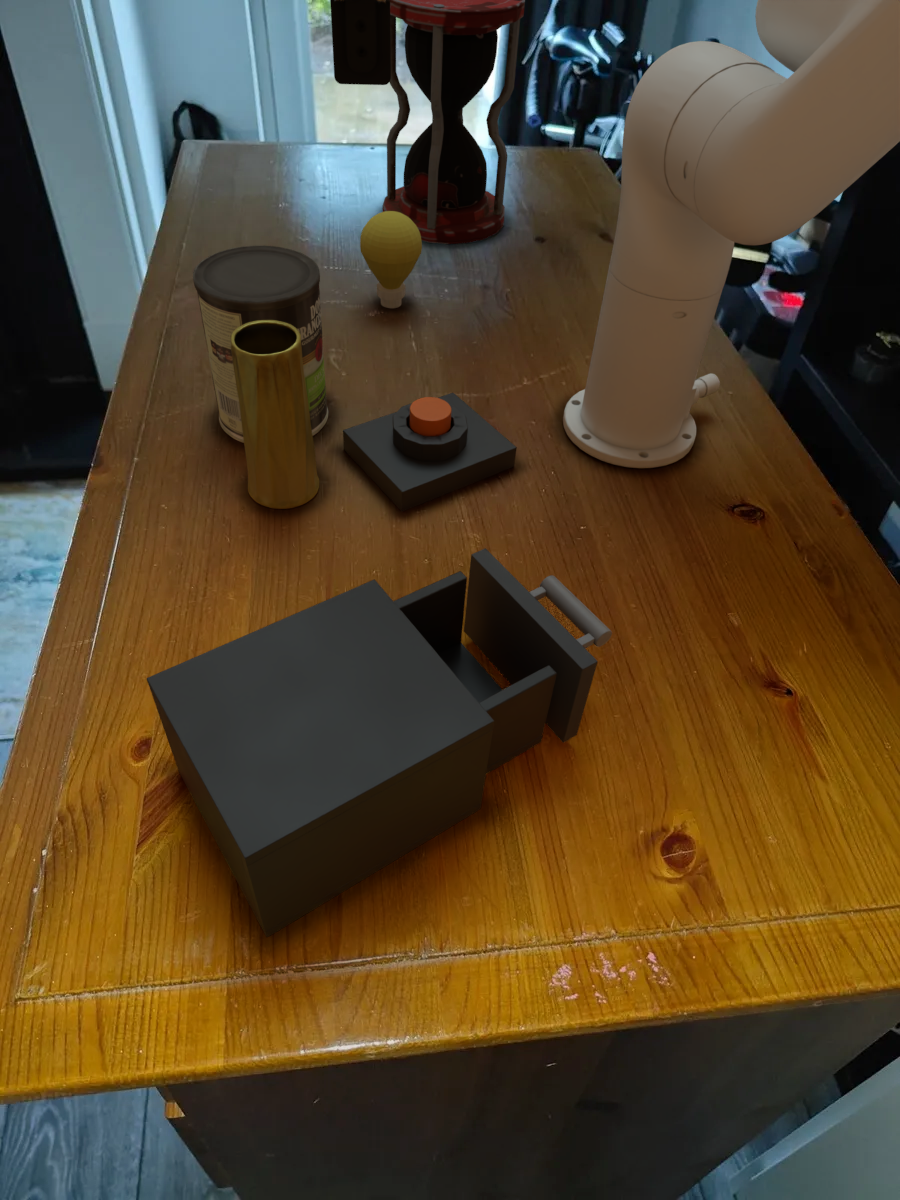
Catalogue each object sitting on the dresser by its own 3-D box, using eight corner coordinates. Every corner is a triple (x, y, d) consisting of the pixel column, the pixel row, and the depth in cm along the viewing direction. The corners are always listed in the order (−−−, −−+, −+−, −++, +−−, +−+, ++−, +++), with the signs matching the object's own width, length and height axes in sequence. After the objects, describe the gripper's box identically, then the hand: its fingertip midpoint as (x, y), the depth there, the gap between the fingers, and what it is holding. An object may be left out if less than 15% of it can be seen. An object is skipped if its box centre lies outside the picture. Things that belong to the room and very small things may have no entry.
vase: (261, 518, 70) (238, 366, 59) (238, 475, 73) (212, 325, 63) (330, 498, 72) (319, 348, 62) (304, 458, 76) (290, 310, 65)
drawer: (523, 602, 64) (536, 525, 58) (625, 706, 57) (650, 632, 52) (312, 705, 56) (304, 628, 51) (403, 837, 50) (405, 767, 44)
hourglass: (367, 235, 107) (362, -2, 89) (400, 187, 118) (401, -32, 100) (491, 253, 105) (512, 16, 87) (513, 203, 116) (536, -17, 98)
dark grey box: (376, 673, 59) (374, 578, 52) (480, 809, 53) (494, 720, 46) (178, 770, 53) (146, 677, 46) (267, 938, 47) (244, 858, 40)
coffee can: (342, 394, 83) (335, 253, 72) (309, 456, 76) (296, 310, 66) (242, 377, 84) (221, 236, 74) (200, 437, 77) (171, 291, 67)
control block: (452, 411, 82) (454, 375, 79) (514, 467, 76) (519, 430, 73) (343, 450, 77) (341, 412, 74) (402, 512, 71) (402, 474, 68)
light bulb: (351, 309, 94) (347, 218, 87) (377, 284, 98) (375, 195, 91) (406, 323, 93) (407, 232, 85) (429, 297, 97) (432, 208, 90)
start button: (435, 409, 76) (436, 392, 74) (458, 429, 74) (459, 412, 72) (401, 421, 74) (401, 404, 73) (424, 442, 72) (424, 425, 71)
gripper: (443, -369, 34) (432, 106, 46) (419, -355, 45) (415, 21, 58) (252, -382, 33) (293, 103, 46) (278, -365, 45) (305, 18, 57)
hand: (362, 57), depth 52 cm, fingers open, 9 cm apart
